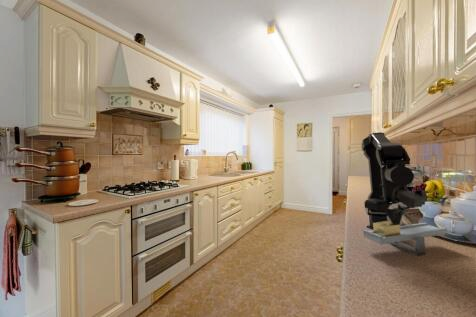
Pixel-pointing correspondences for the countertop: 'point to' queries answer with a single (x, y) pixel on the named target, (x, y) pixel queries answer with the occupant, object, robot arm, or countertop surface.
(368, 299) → the countertop surface
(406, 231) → the beam
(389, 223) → the pale yellow block
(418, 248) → the stand
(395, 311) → the countertop surface
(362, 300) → the countertop surface
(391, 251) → the countertop surface
